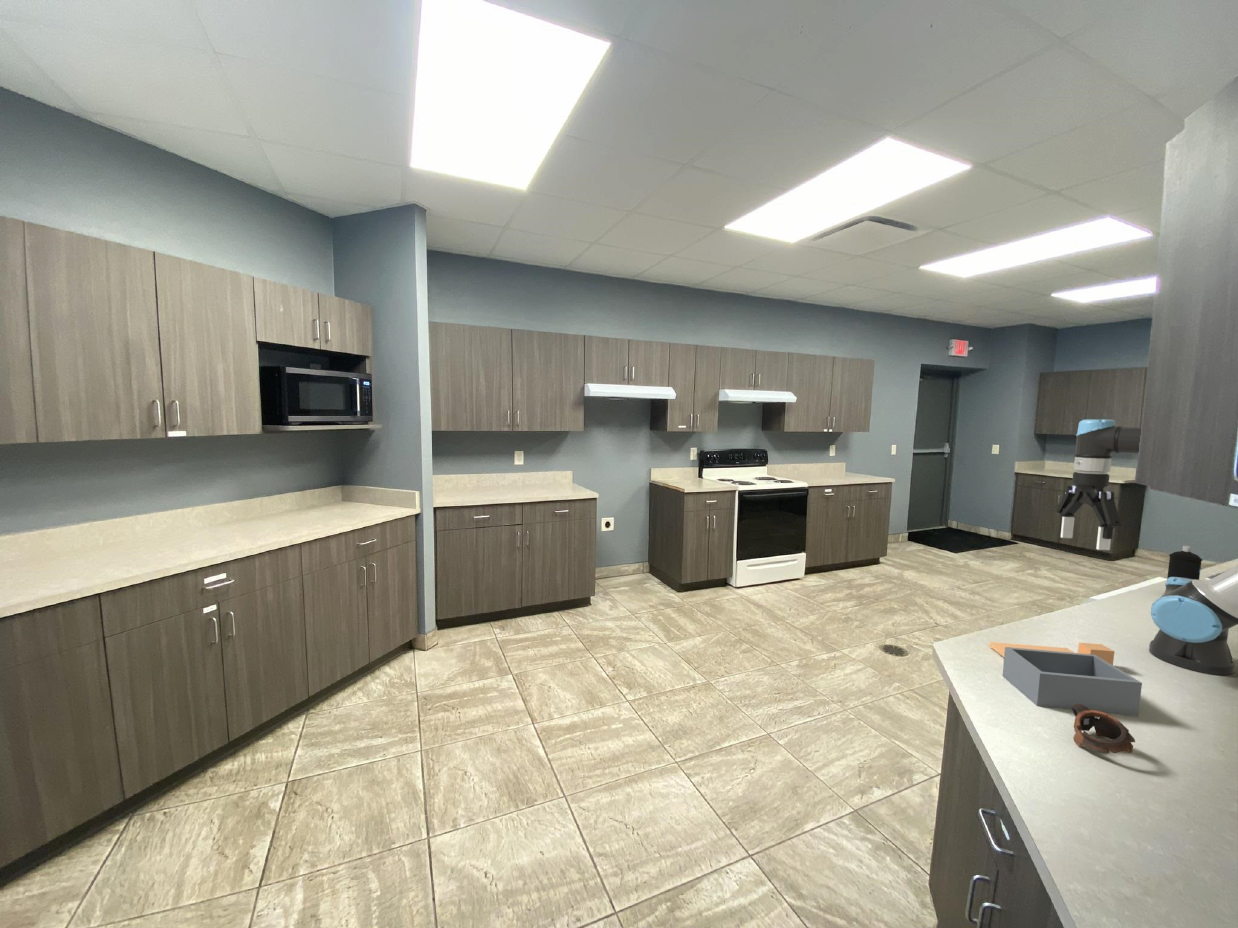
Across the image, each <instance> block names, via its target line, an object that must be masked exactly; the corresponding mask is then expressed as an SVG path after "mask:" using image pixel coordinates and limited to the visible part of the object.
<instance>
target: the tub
mask: <svg viewBox="0 0 1238 928" xmlns="http://www.w3.org/2000/svg"><path fill="white" fill-rule="evenodd" d="M1002 665H1003V667H1002V677H1003V678H1004V679H1005V680H1006V681H1007V682H1008V683H1010V684H1011V685H1012V686H1013V687H1014V688H1015V689H1017V690H1018V692H1020V693H1021V694H1023V695H1024V696H1025V697H1026V698H1027V699H1028V700H1030V702H1031V703H1033V704H1034V705H1035V706H1036V707H1043V708H1044V707H1046V708H1054V709H1062V710H1070V711H1072V708H1071V706H1072V705H1073V704H1076V703H1079V704H1082V705H1084V706H1086V707H1087V708H1088V709H1089V710H1095V711H1101V712H1104V713H1107V714H1109V715H1119V716H1129V717H1130V716H1131V717H1139V712H1140V705H1141V697H1142V696H1141V695H1142V687H1143V682H1141V681H1140V680H1138V679H1136V678H1135V677H1133V676H1132V675H1129V674H1128V673H1126V672H1125V671H1123V670H1121V669H1120V668H1118V667H1116V666H1115V665H1114V664H1113V665H1111V664H1110V663H1108V662H1106V661H1105V660H1103V659H1101V658H1100V657H1098V656H1096V655H1093V654H1082V653H1078V652H1074V653H1070V652H1058V651H1047V650H1035V649H1023V648H1012V647H1005V653H1004V657H1003V664H1002Z"/></svg>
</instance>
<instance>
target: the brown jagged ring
mask: <svg viewBox="0 0 1238 928" xmlns="http://www.w3.org/2000/svg"><path fill="white" fill-rule="evenodd" d="M1071 708H1072V710H1071V712H1072V713H1073V715H1074V718H1075V719H1074V724H1073V728H1074V729H1073V730H1074V732H1075V733H1074V735H1073V737H1072V738H1073V742H1074V743H1075V744H1076V746H1078V748H1081V747H1084V748H1086V749H1089V750H1092V751H1093V750H1094V751H1097V752H1101V753H1105V754H1110V753H1112V754H1117V753H1123V752H1125V753H1128V754H1132V752H1133V750H1134V745H1133V744H1132V743H1136V739H1135V737H1133V735H1132V734H1131V733H1130V731H1129V729H1128V728H1127V727H1126V726H1125V725H1124V724H1123V722H1121V721H1119V720H1118V718H1116V717H1115V716H1113V715H1112V714H1109V713H1104V712H1101V711H1095V710H1089V709H1088V708H1087V707H1086V706H1084V705H1082V704H1079V703H1076V704H1073V705H1072V706H1071ZM1093 727H1094V731H1095V736H1094V735H1092V734H1091V733H1089V731H1090V730H1091V729H1093ZM1097 736H1098V737H1099V738H1098V737H1097ZM1103 738H1107V739H1103Z"/></svg>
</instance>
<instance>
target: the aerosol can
mask: <svg viewBox="0 0 1238 928" xmlns="http://www.w3.org/2000/svg"><path fill="white" fill-rule="evenodd" d="M1191 549H1192V546H1190V545H1183V546H1182V549H1181V550H1179V551H1174V552H1172V553H1170V554H1168V556H1169V560H1168V561H1169V562H1168V570H1167V575H1166V577H1167V579H1168V578H1169V577H1180V578H1188V579H1194V580H1200V577H1201V576H1200V575H1201V569H1202V567H1201V566H1202V562H1203V558H1201V557H1200V556H1199V555H1198V554H1196V553H1193V552H1191ZM1167 579H1166V580H1167ZM1164 594H1165V592H1163V595H1164Z"/></svg>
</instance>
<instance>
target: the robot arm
mask: <svg viewBox="0 0 1238 928" xmlns="http://www.w3.org/2000/svg"><path fill="white" fill-rule="evenodd" d="M1077 426H1078V427H1077V433H1076V434H1075V436H1076V441H1075V451H1074V452H1075V454H1074V462H1073V463H1074V464H1073V470H1074V472H1073V473H1072V479H1071V480H1072V481H1071V483H1072V484H1073V485H1067V486H1066V489H1065V493H1064V495H1063V497H1062V499H1061V501H1060V503H1059V504H1058V506H1057V508H1056V513H1057V514H1060V516H1061V523H1060V525H1061V527H1060V528H1061V530H1060V538H1061V539H1073V538H1074V537H1073V536H1074V527H1075V513H1077V511H1078V510H1079V509H1080V508H1081V507H1082V506H1083V505H1084V504H1085V505H1088V506H1090V507H1091V508H1092V509H1093V512H1094V513H1095V516H1096V517H1097V520H1098V521H1099V523H1100V525H1098V530H1097V539H1096V550H1097V551H1110V550H1111V543H1112V542H1111V541H1112V539H1113V533H1114V529H1115V528H1121V527H1122V523H1121V522H1122V521H1121V519H1120V515H1119V512H1118V508H1117V505H1116V502H1115V492H1114V491H1105V490H1104V489H1105V488H1107V487H1109V484H1110V475H1109V474H1108V473H1110V472H1111V469H1112V456H1113V455H1112V454H1113V453H1114V454H1131V455H1132V454H1135V455H1139V454H1138V452H1139V442H1140V435H1141V427H1142V426H1117V424H1116V421H1115V420H1114V419H1082V420H1081V421H1079V422H1078V425H1077ZM1164 586H1165V590H1164V591H1165V592H1164V593H1165V594H1164V593H1163V594H1162V596H1160V597H1159V598H1157V599H1156V600H1155V601H1153V603H1152V604H1151V608H1150V617H1151V619H1152V621H1153V623H1154V625H1155V626H1157V628H1158V629H1159V630H1158V631H1157V633H1156V635H1155V636H1154V638H1153V639H1152V640H1151V641H1150V643H1149V646H1148V651H1149V652H1148V653H1150V654H1151V655H1152V656H1154V657H1156V658H1157V659H1159V660H1161V661H1164V662H1166V663H1169V664H1172V665H1174V666H1177V667H1181V668H1183V669H1188V670H1192V671H1195V672H1199V673H1204V674H1205V673H1206V674H1210V675H1217V676H1218V675H1219V676H1229V675H1233V674H1234V673H1235V667H1236V664H1235V661H1234V660H1233V657H1232V653H1231V650H1230V646H1229V644H1228V636H1229V630H1230V629H1231V628H1234V627H1236V626H1238V564H1237V565H1235V566H1233V567H1231V568H1229V569H1227V570H1225V571H1224V572H1222V573H1219V574H1218V575H1216V576H1214V577H1211V579H1209V580H1208V579H1207V580H1202V579H1201V580H1200V579H1199V580H1194V579H1188V578H1180V577H1169V578H1168V579H1166V583H1165V584H1164Z"/></svg>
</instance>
